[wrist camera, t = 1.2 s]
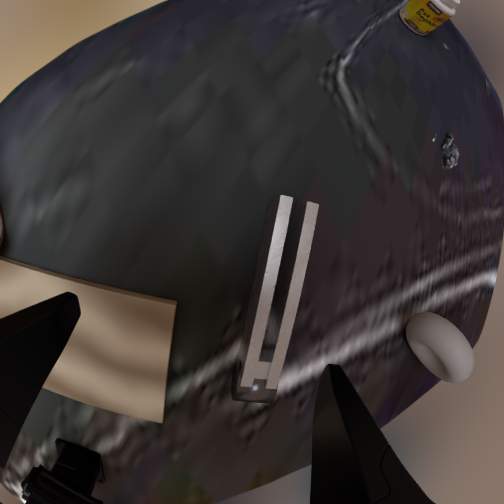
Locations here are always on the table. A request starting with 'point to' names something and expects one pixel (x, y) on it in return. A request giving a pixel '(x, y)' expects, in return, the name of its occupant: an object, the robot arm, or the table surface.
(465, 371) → the donut
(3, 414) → the robot arm
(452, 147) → the blueberries
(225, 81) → the table surface
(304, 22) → the table surface
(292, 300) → the tongs
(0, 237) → the tin
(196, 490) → the table surface
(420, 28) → the supplement bottle
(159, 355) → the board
